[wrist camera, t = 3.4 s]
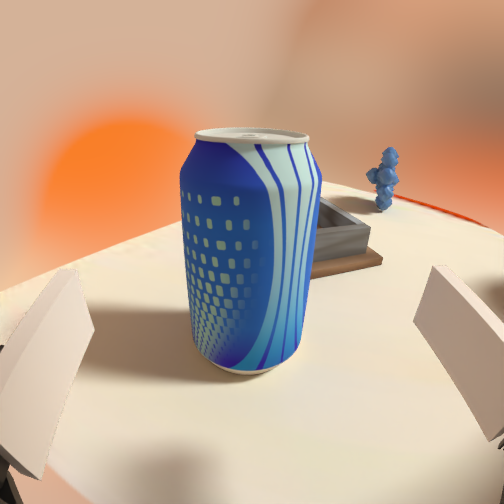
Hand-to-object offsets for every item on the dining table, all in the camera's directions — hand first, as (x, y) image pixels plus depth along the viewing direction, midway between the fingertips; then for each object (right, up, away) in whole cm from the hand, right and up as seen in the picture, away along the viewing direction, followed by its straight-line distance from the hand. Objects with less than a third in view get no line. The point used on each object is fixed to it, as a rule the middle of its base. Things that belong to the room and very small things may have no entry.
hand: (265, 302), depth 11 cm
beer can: (-1, -6, +14) cm, 15 cm away
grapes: (+24, +10, +47) cm, 54 cm away
